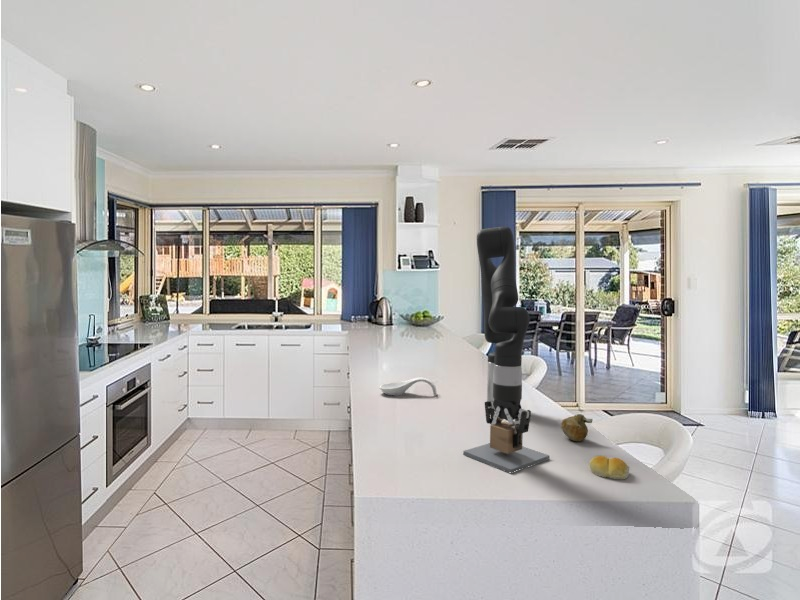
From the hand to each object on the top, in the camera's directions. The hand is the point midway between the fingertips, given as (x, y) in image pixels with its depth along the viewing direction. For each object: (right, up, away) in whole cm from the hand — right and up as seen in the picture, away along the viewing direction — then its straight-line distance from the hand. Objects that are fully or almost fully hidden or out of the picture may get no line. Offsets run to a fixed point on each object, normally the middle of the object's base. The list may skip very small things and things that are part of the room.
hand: (506, 443), depth 128 cm
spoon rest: (-25, -1, +71) cm, 75 cm away
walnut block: (0, -1, 0) cm, 1 cm away
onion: (+24, -3, +15) cm, 28 cm away
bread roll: (+23, -5, -10) cm, 26 cm away
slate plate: (0, -4, 0) cm, 4 cm away
